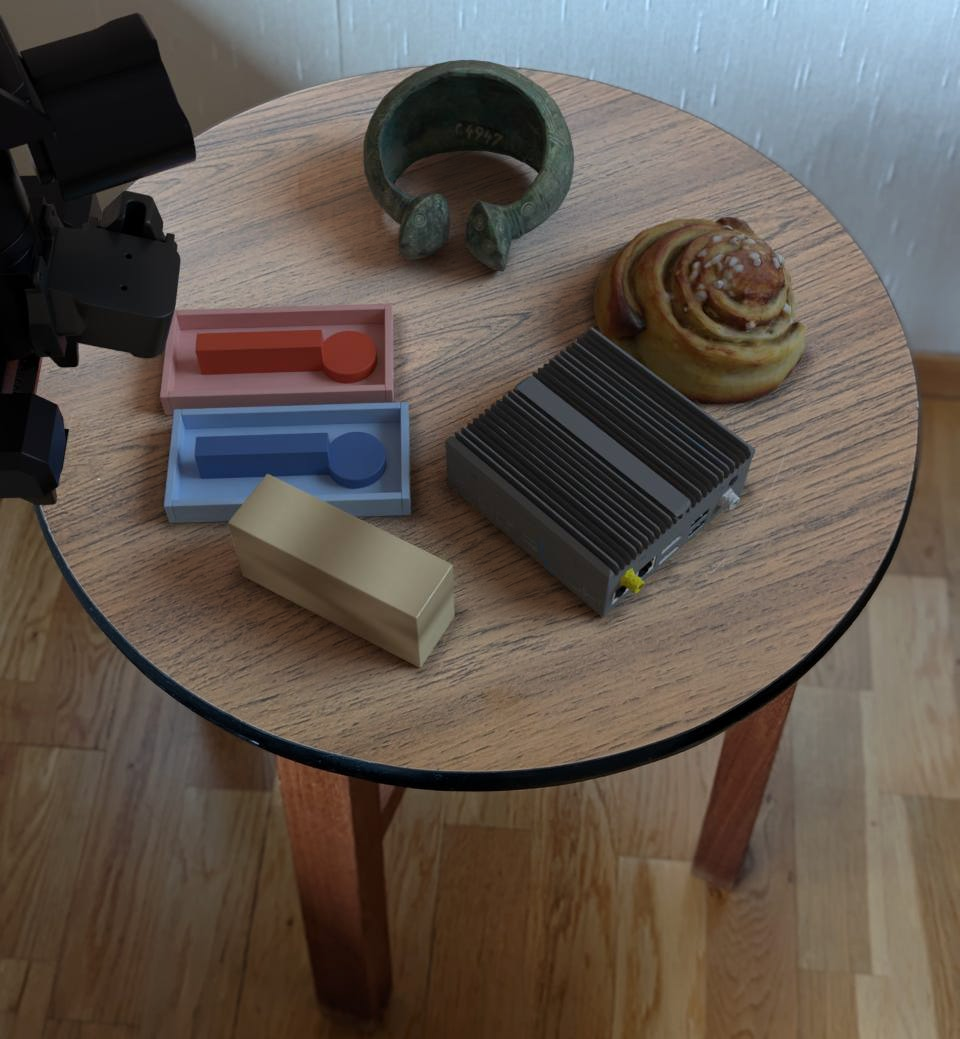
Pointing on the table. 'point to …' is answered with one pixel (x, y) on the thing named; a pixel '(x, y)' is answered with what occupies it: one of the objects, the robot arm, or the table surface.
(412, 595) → the wooden rectangular block
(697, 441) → the electronic device
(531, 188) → the bracelet
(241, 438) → the blue paddle
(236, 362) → the red spoon
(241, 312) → the rose tray
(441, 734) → the table surface
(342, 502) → the blue tray
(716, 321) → the pastry
